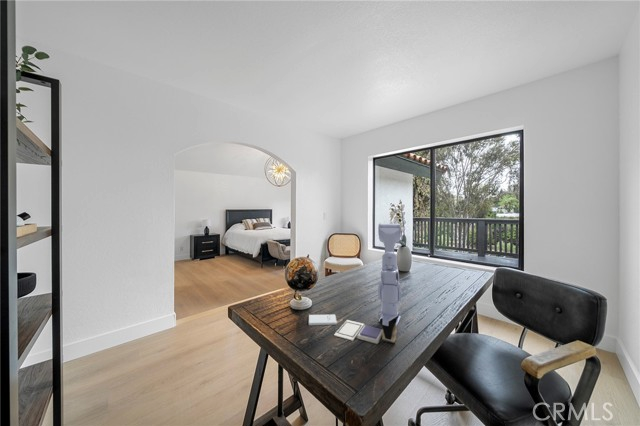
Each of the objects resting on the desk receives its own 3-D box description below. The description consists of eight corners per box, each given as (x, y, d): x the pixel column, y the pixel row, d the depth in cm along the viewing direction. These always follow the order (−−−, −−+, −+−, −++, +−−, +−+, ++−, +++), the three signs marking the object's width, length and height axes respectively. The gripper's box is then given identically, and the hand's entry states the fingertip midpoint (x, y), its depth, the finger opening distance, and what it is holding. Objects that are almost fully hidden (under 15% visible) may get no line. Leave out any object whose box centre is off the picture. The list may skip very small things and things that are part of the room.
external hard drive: (308, 317, 112) (335, 317, 112) (308, 326, 103) (337, 325, 104) (308, 314, 112) (335, 313, 112) (308, 323, 103) (336, 322, 104)
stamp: (385, 334, 94) (385, 322, 94) (396, 337, 92) (396, 325, 92) (382, 340, 91) (382, 327, 90) (394, 343, 88) (394, 330, 88)
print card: (347, 320, 107) (347, 319, 107) (364, 324, 104) (364, 323, 104) (333, 335, 95) (333, 334, 95) (352, 340, 91) (352, 339, 91)
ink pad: (364, 327, 101) (364, 323, 101) (383, 332, 97) (383, 328, 97) (357, 338, 93) (357, 333, 93) (377, 343, 89) (377, 339, 89)
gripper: (383, 292, 99) (383, 324, 100) (374, 305, 87) (374, 342, 87) (401, 295, 96) (401, 328, 96) (393, 309, 83) (393, 347, 84)
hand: (389, 335), depth 91 cm, fingers closed on stamp, 4 cm apart
